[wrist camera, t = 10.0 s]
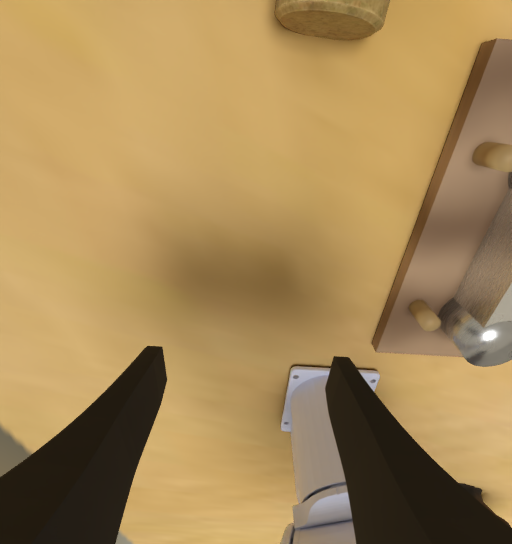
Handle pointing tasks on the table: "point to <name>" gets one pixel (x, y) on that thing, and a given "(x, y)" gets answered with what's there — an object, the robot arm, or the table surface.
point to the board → (454, 210)
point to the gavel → (333, 17)
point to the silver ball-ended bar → (485, 297)
